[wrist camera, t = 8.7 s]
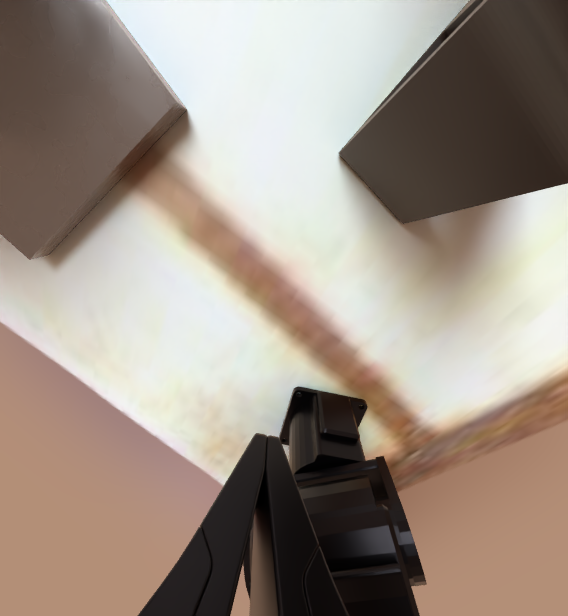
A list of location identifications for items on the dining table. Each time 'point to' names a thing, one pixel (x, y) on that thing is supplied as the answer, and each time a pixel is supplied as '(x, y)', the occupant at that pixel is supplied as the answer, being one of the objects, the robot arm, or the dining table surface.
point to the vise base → (70, 114)
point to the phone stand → (473, 114)
